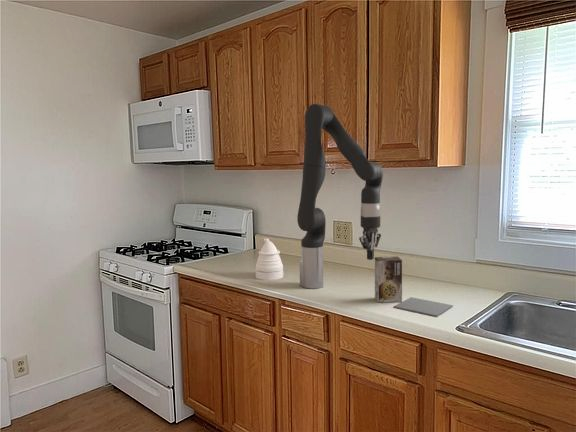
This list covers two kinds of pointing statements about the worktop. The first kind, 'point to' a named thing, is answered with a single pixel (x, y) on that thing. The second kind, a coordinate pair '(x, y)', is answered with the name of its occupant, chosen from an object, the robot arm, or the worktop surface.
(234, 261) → the worktop surface
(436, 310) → the mat
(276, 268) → the honey pot
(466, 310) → the worktop surface
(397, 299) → the coffee box
